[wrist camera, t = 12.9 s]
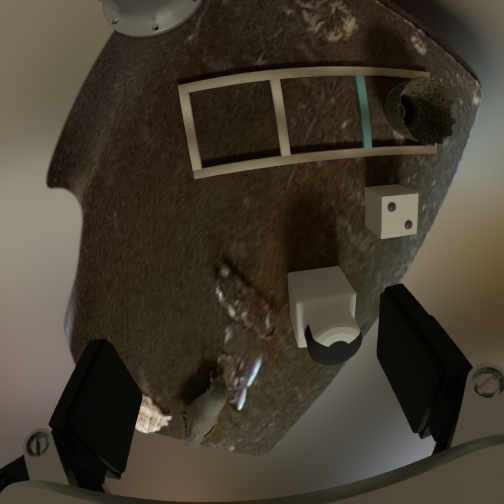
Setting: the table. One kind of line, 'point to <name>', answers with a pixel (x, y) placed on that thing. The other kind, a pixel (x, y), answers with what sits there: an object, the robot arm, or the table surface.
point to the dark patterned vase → (420, 110)
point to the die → (391, 210)
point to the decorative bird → (205, 412)
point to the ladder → (281, 120)
